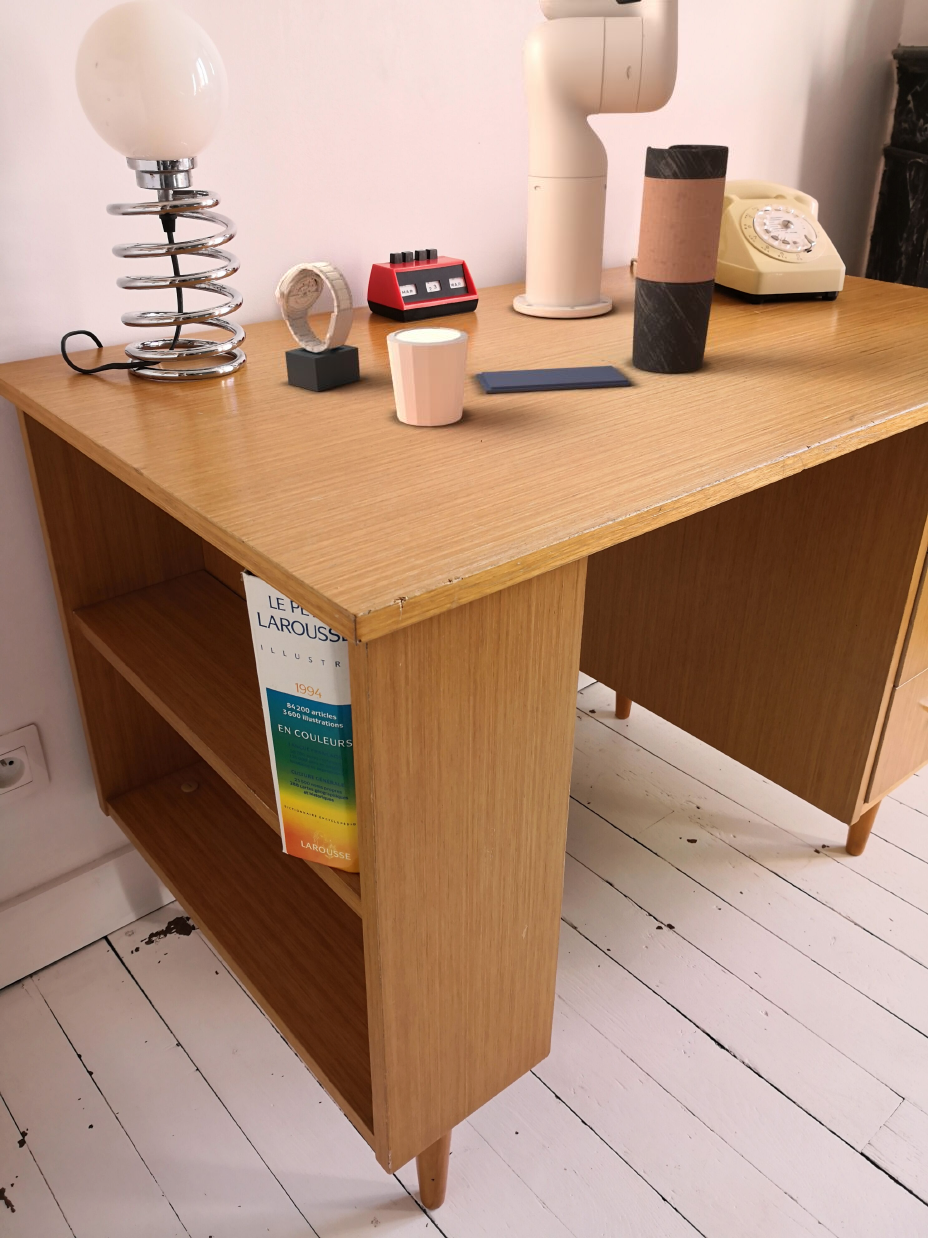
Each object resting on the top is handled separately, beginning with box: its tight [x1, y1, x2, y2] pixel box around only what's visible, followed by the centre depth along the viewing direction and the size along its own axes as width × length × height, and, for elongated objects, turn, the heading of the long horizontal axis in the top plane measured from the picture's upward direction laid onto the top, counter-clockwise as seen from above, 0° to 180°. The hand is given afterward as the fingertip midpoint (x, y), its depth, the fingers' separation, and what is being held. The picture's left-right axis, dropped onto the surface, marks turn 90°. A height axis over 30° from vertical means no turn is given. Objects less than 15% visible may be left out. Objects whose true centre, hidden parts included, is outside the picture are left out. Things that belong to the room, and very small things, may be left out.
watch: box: [274, 261, 361, 393], centre depth 90 cm, size 6×8×11 cm
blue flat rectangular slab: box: [475, 365, 632, 394], centre depth 92 cm, size 6×14×1 cm, turn 98°
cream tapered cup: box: [386, 326, 469, 427], centre depth 81 cm, size 7×7×7 cm
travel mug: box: [631, 144, 730, 374], centre depth 92 cm, size 8×8×20 cm
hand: (580, 0), depth 80 cm, fingers open, 9 cm apart
